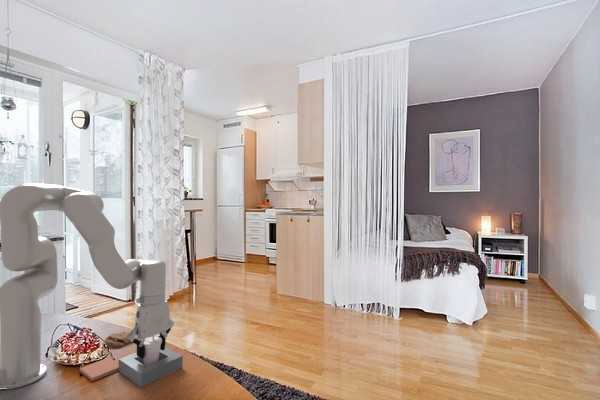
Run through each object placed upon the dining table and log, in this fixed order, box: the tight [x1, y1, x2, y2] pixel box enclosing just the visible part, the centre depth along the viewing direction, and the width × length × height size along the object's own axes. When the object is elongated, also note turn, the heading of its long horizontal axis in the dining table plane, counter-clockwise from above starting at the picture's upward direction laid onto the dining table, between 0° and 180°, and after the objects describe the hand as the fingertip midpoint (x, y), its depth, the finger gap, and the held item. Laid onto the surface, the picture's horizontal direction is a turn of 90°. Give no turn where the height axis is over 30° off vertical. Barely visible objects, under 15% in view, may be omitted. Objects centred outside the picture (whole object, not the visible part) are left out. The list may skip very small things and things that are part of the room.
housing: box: [117, 346, 184, 388], centre depth 105 cm, size 14×14×4 cm
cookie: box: [103, 331, 133, 349], centre depth 124 cm, size 10×11×3 cm
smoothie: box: [143, 335, 162, 366], centre depth 105 cm, size 6×6×14 cm
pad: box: [79, 356, 119, 382], centre depth 104 cm, size 9×9×1 cm
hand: (151, 352), depth 105 cm, fingers closed on smoothie, 6 cm apart
